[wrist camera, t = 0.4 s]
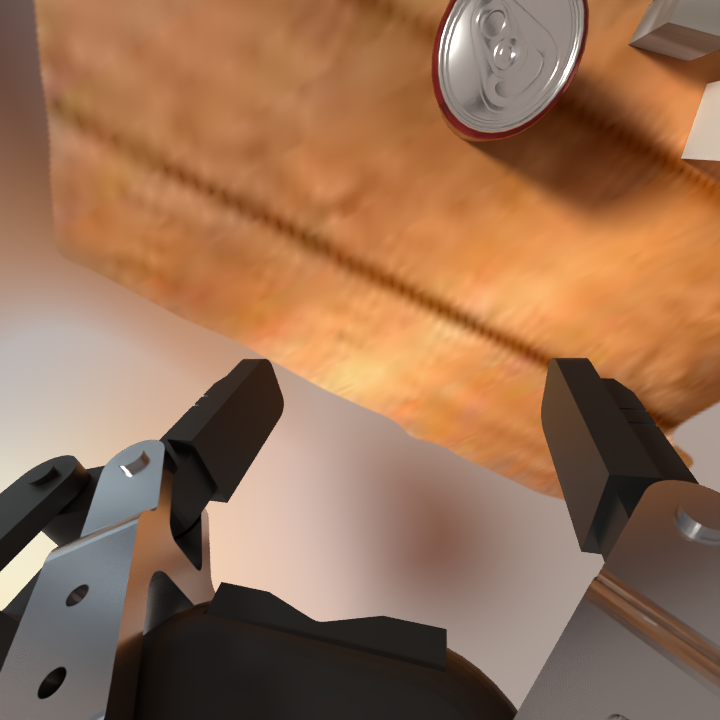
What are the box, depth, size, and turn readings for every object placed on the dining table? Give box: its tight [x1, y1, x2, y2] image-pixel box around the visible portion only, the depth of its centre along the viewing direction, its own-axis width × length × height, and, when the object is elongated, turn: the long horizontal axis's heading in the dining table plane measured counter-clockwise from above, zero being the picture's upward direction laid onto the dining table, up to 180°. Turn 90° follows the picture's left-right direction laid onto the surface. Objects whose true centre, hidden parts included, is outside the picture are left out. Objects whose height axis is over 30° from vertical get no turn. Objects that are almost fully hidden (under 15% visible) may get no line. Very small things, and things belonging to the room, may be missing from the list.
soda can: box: [432, 0, 589, 142], centre depth 21 cm, size 7×7×12 cm
